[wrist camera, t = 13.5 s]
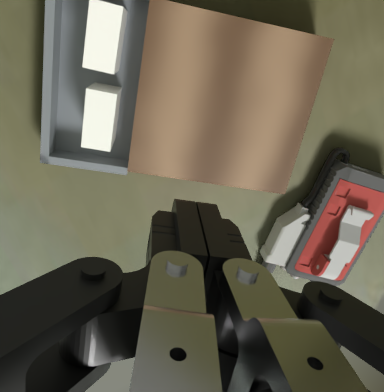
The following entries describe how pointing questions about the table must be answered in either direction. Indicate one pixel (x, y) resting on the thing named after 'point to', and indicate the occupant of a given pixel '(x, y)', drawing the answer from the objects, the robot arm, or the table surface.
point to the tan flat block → (223, 97)
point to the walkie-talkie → (328, 224)
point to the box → (86, 85)
